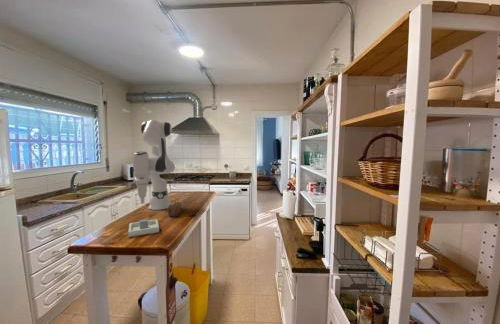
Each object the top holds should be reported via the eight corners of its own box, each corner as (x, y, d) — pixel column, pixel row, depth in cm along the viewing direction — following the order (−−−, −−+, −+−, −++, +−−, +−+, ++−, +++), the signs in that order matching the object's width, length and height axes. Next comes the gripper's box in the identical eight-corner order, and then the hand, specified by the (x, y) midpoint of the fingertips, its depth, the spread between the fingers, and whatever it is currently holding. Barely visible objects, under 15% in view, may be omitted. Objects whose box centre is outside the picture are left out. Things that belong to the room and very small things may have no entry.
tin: (170, 217, 157) (170, 206, 157) (166, 217, 158) (166, 205, 157) (181, 211, 172) (181, 200, 171) (177, 211, 173) (177, 200, 172)
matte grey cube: (140, 227, 135) (139, 220, 135) (148, 226, 137) (147, 218, 137) (140, 230, 131) (139, 222, 131) (148, 229, 133) (148, 221, 133)
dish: (129, 227, 138) (129, 223, 138) (157, 223, 145) (157, 219, 145) (128, 237, 124) (128, 231, 123) (159, 232, 131) (159, 227, 130)
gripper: (136, 176, 140) (137, 198, 141) (135, 181, 121) (136, 206, 123) (147, 176, 143) (147, 197, 144) (148, 180, 124) (148, 204, 125)
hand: (142, 201), depth 133 cm, fingers open, 8 cm apart
